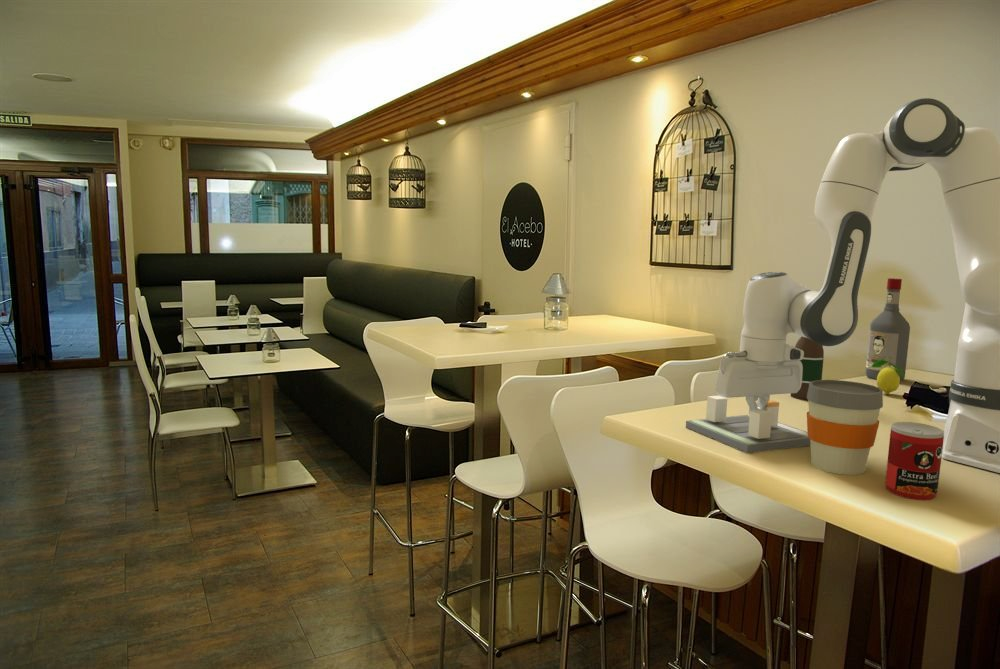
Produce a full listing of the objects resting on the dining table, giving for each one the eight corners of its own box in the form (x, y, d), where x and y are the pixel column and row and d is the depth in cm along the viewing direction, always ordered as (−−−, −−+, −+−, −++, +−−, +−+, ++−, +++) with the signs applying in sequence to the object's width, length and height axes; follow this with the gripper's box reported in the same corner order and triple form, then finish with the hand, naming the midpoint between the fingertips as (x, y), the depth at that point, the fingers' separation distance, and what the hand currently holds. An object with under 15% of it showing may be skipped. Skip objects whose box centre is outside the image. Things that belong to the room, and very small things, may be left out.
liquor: (879, 374, 225) (889, 277, 221) (908, 380, 217) (919, 279, 213) (861, 376, 221) (870, 277, 216) (889, 382, 213) (900, 280, 208)
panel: (820, 443, 148) (821, 436, 148) (747, 453, 140) (747, 445, 140) (754, 420, 165) (754, 413, 165) (685, 427, 158) (686, 420, 158)
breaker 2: (769, 437, 144) (771, 412, 144) (758, 438, 143) (760, 414, 142) (759, 433, 147) (761, 409, 146) (748, 435, 146) (749, 410, 145)
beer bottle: (826, 400, 187) (834, 308, 183) (796, 400, 187) (804, 307, 183) (813, 394, 195) (821, 304, 191) (784, 393, 195) (791, 304, 191)
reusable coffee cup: (856, 457, 140) (864, 380, 138) (889, 479, 127) (898, 395, 125) (790, 455, 140) (797, 378, 138) (817, 476, 128) (824, 393, 125)
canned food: (894, 498, 118) (901, 432, 116) (877, 482, 126) (883, 420, 124) (945, 502, 117) (953, 436, 115) (925, 485, 125) (932, 423, 123)
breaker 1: (725, 421, 156) (727, 398, 155) (714, 422, 155) (716, 399, 154) (717, 417, 159) (718, 395, 158) (706, 418, 158) (707, 396, 157)
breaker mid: (777, 425, 153) (779, 402, 153) (766, 426, 152) (768, 403, 152) (767, 422, 156) (769, 399, 155) (756, 423, 155) (758, 400, 154)
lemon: (868, 391, 200) (872, 355, 199) (889, 391, 200) (892, 355, 199) (882, 396, 193) (886, 359, 192) (903, 397, 194) (907, 360, 192)
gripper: (732, 354, 143) (727, 422, 145) (810, 351, 152) (803, 416, 154) (711, 349, 149) (706, 415, 151) (787, 346, 157) (781, 408, 159)
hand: (756, 415), depth 152 cm, fingers closed
